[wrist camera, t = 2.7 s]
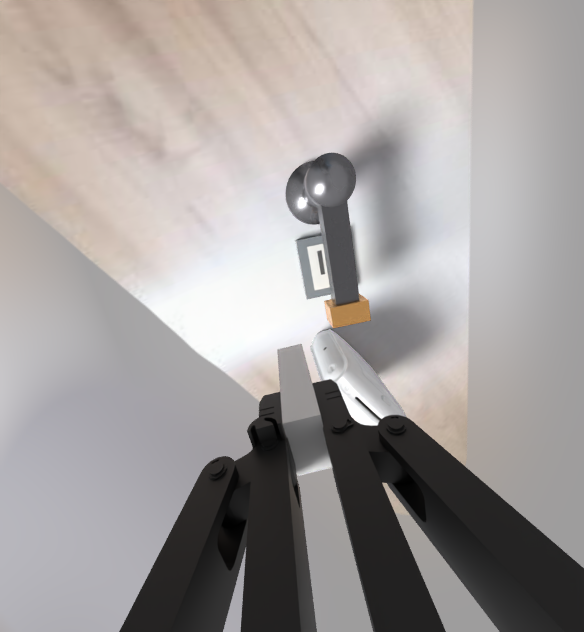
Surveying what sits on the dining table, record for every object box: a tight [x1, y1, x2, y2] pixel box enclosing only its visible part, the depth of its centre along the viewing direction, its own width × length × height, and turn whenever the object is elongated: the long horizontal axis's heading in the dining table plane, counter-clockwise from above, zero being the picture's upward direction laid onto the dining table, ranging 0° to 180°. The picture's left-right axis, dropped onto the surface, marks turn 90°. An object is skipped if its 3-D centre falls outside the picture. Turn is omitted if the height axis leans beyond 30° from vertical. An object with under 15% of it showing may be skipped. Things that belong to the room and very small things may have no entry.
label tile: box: [296, 235, 331, 299], centre depth 34 cm, size 7×6×1 cm
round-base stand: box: [286, 161, 320, 224], centre depth 29 cm, size 6×6×7 cm
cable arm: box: [304, 153, 371, 328], centre depth 25 cm, size 14×4×3 cm, turn 11°
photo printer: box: [310, 329, 406, 425], centre depth 32 cm, size 10×4×12 cm, turn 45°
